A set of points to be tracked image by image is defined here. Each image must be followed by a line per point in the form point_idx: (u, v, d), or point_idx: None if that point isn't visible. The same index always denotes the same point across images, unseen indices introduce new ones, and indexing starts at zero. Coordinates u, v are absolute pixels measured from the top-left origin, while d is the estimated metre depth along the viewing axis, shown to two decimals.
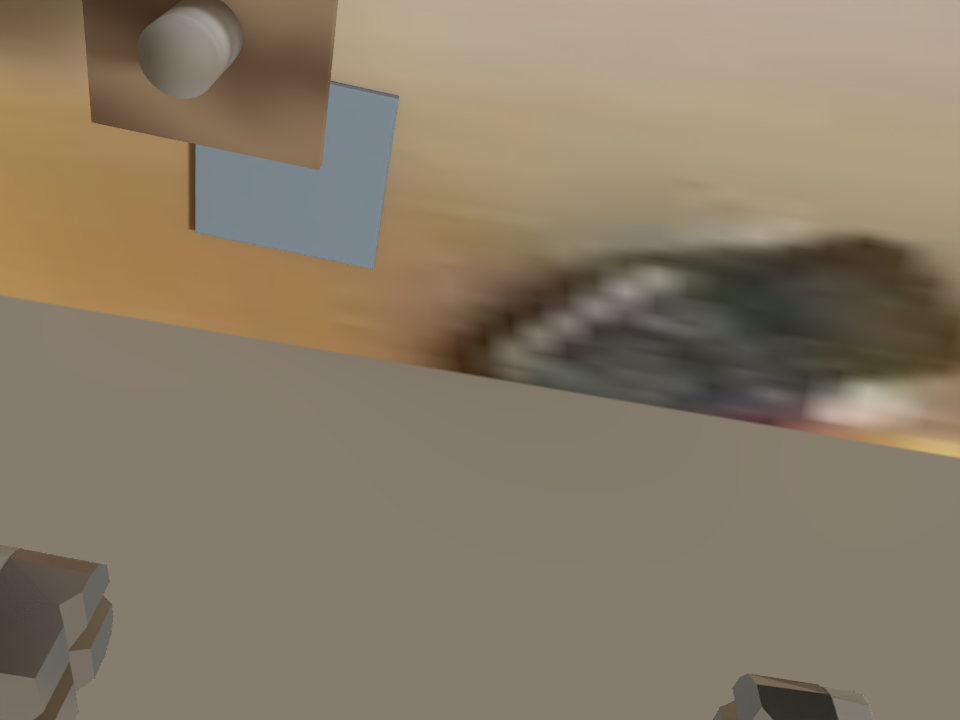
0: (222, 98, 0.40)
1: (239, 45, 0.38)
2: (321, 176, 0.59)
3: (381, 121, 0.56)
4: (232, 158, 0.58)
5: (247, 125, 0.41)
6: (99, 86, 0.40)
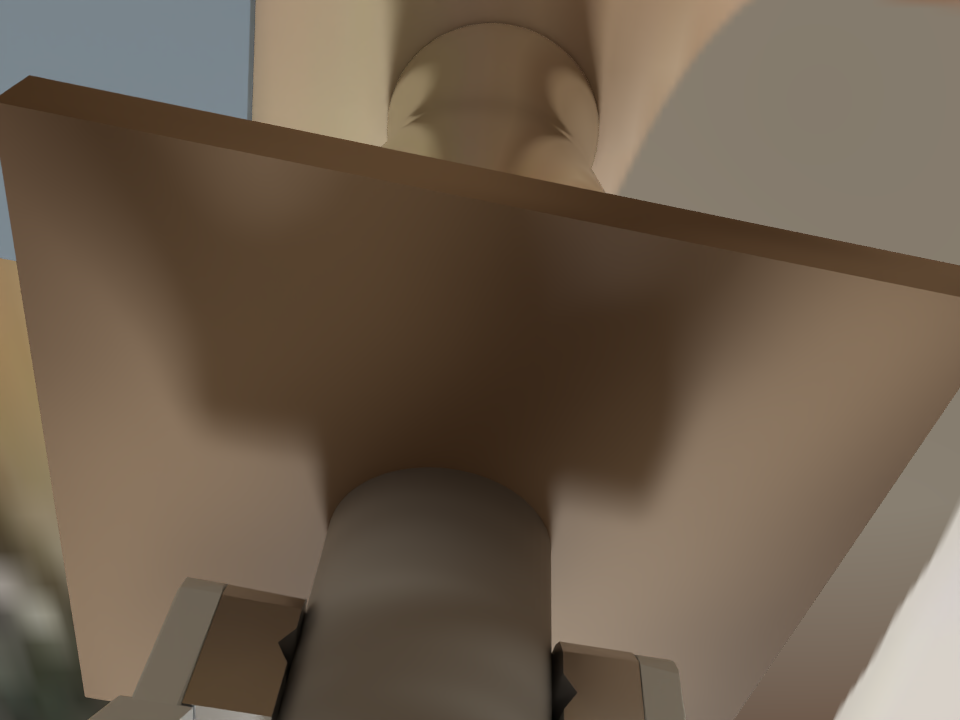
0: (234, 547, 0.13)
1: None
2: None
3: None
4: None
5: (164, 586, 0.13)
6: (176, 180, 0.09)
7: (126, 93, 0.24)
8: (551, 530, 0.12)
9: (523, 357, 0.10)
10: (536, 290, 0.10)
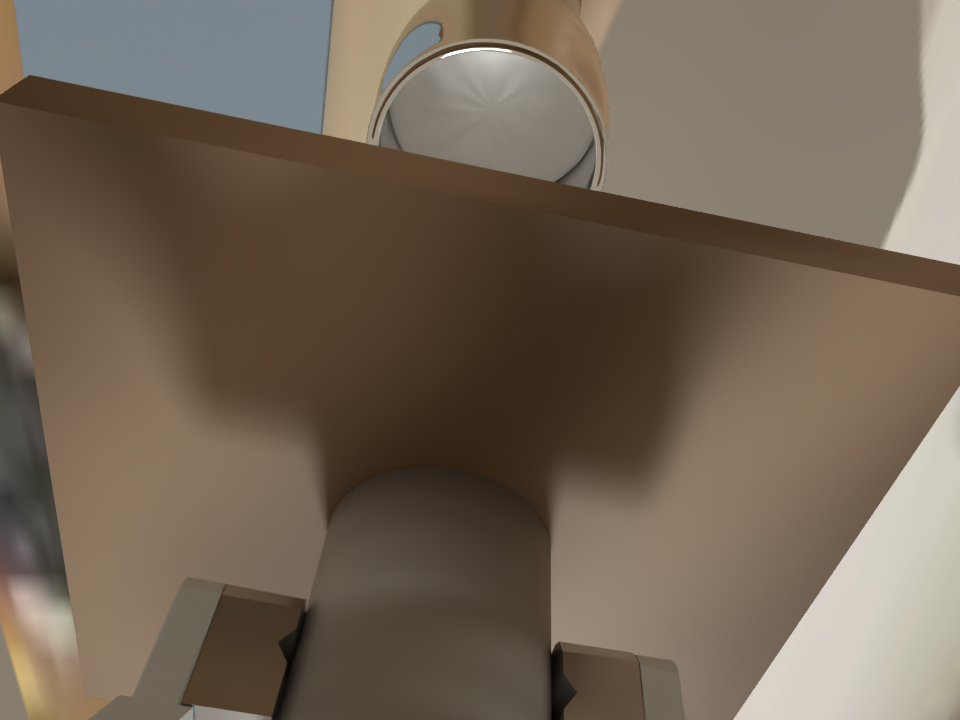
0: (235, 546, 0.13)
1: None
2: (170, 23, 0.36)
3: None
4: None
5: (164, 585, 0.13)
6: (177, 179, 0.09)
7: None
8: (551, 529, 0.12)
9: (523, 356, 0.10)
10: (536, 289, 0.10)
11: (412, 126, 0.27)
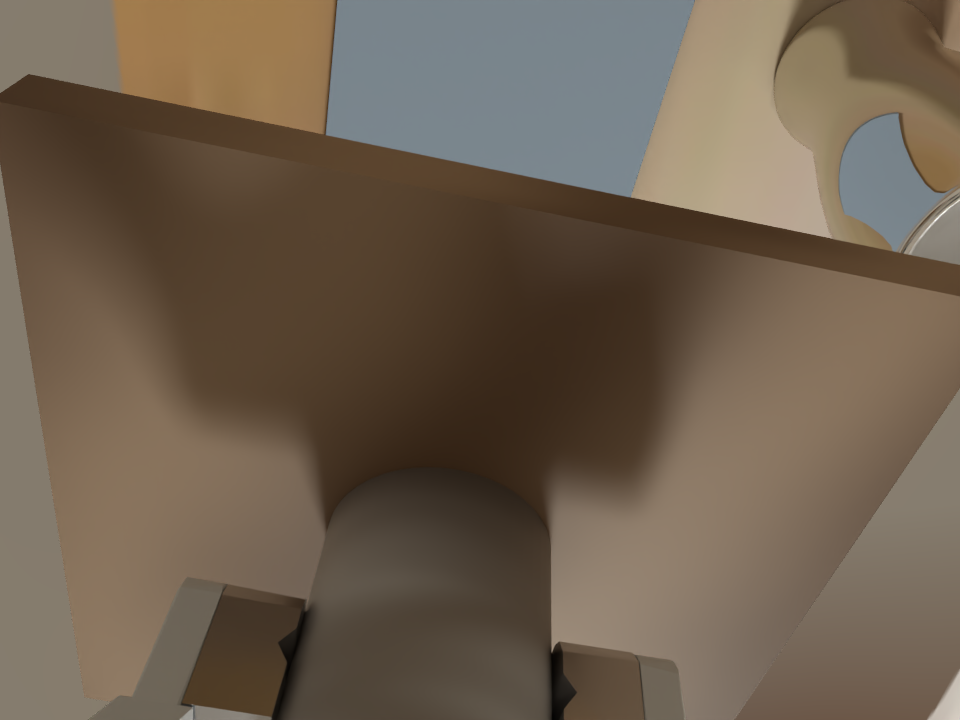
0: (234, 547, 0.13)
1: None
2: (495, 86, 0.34)
3: None
4: None
5: (163, 586, 0.13)
6: (177, 179, 0.09)
7: (585, 48, 0.33)
8: (551, 530, 0.12)
9: (523, 357, 0.10)
10: (536, 289, 0.10)
11: None
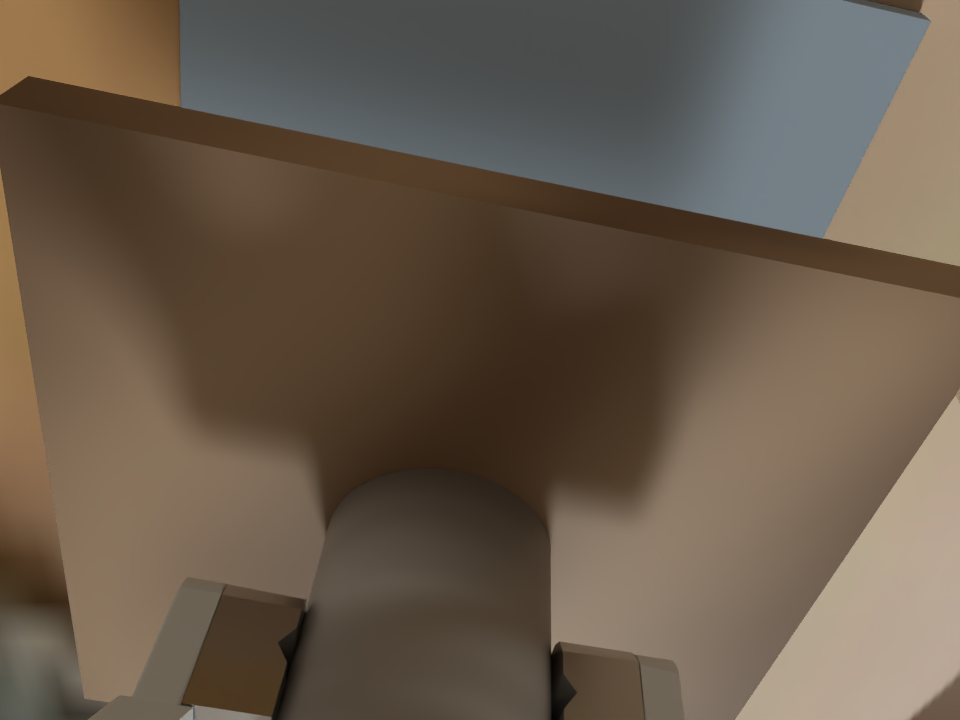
0: (234, 548, 0.13)
1: None
2: None
3: None
4: (526, 80, 0.16)
5: (163, 587, 0.13)
6: (175, 181, 0.09)
7: None
8: (551, 531, 0.12)
9: (522, 358, 0.10)
10: (535, 291, 0.10)
11: None
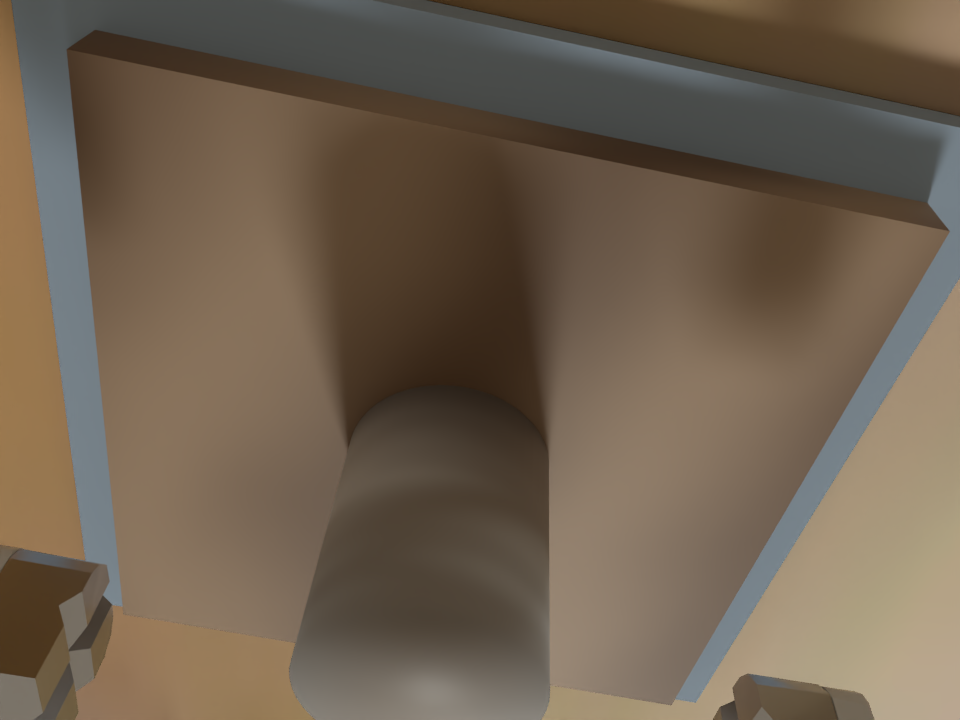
0: (264, 464, 0.14)
1: None
2: None
3: None
4: None
5: (200, 503, 0.15)
6: (224, 119, 0.11)
7: None
8: (549, 444, 0.13)
9: (524, 280, 0.12)
10: (535, 218, 0.11)
11: None
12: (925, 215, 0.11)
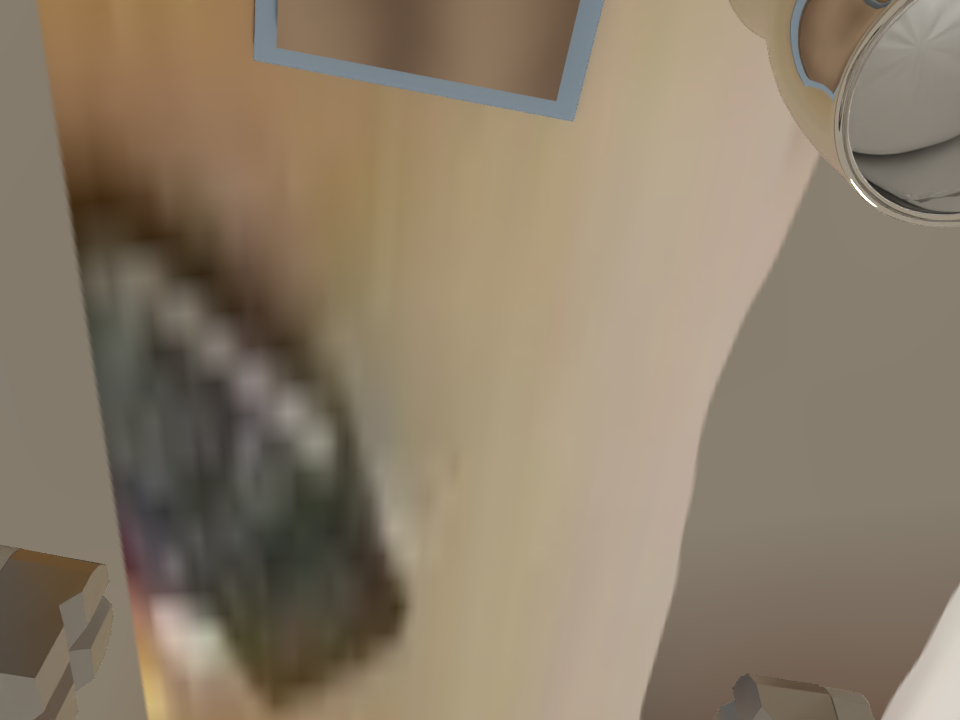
0: None
1: None
2: None
3: None
4: None
5: None
6: None
7: None
8: None
9: None
10: None
11: None
12: None
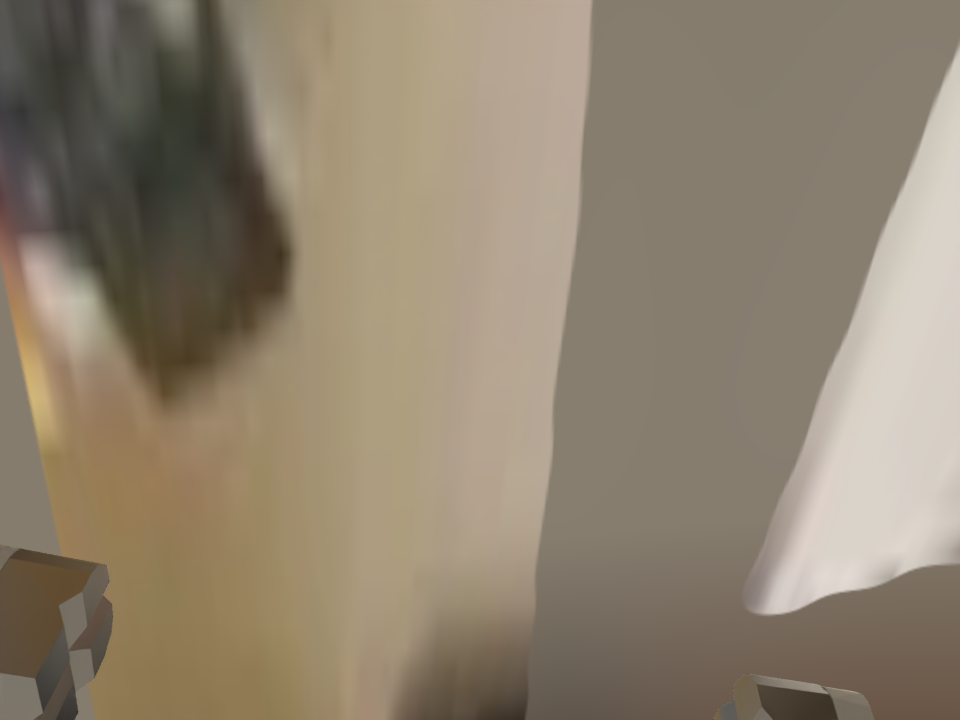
0: None
1: None
2: None
3: None
4: None
5: None
6: None
7: None
8: None
9: None
10: None
11: None
12: None
